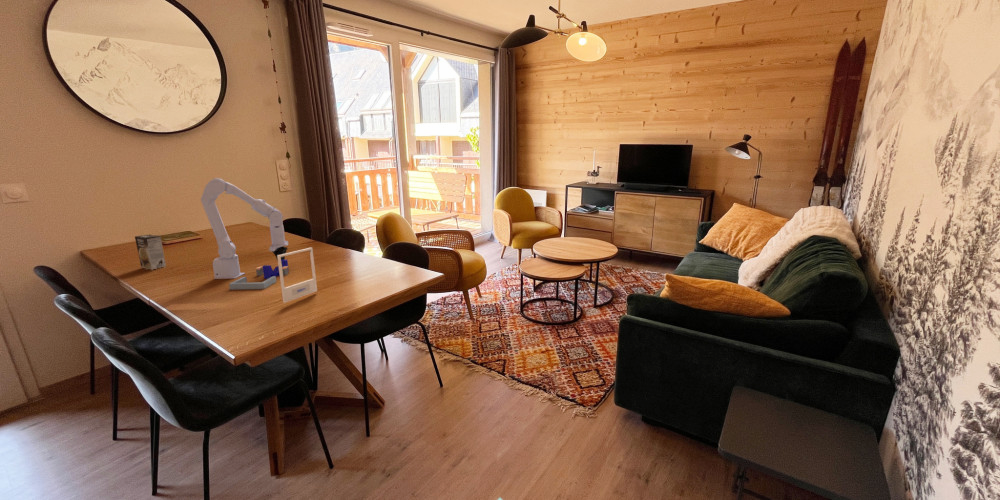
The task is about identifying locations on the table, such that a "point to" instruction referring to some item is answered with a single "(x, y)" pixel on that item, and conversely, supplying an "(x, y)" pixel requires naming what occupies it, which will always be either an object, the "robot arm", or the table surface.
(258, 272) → the posts
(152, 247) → the coffee box
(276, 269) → the blue stepped bar
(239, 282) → the grey bent bracket
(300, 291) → the photo frame
